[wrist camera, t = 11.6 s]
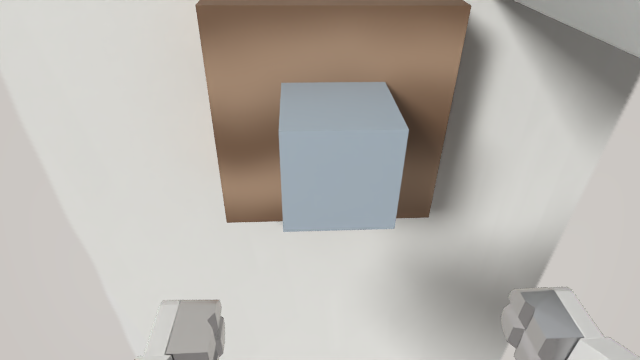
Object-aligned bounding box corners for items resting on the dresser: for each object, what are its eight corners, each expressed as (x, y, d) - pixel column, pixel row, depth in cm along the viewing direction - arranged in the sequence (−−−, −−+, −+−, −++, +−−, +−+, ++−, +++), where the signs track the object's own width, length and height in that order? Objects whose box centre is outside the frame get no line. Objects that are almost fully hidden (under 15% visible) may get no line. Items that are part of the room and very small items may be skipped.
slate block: (281, 82, 20) (278, 131, 16) (385, 81, 20) (408, 129, 16) (284, 170, 23) (283, 231, 19) (376, 169, 23) (394, 228, 19)
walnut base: (210, -12, 21) (195, 5, 18) (444, -11, 22) (471, 5, 19) (234, 183, 28) (226, 222, 25) (412, 180, 29) (428, 217, 25)
